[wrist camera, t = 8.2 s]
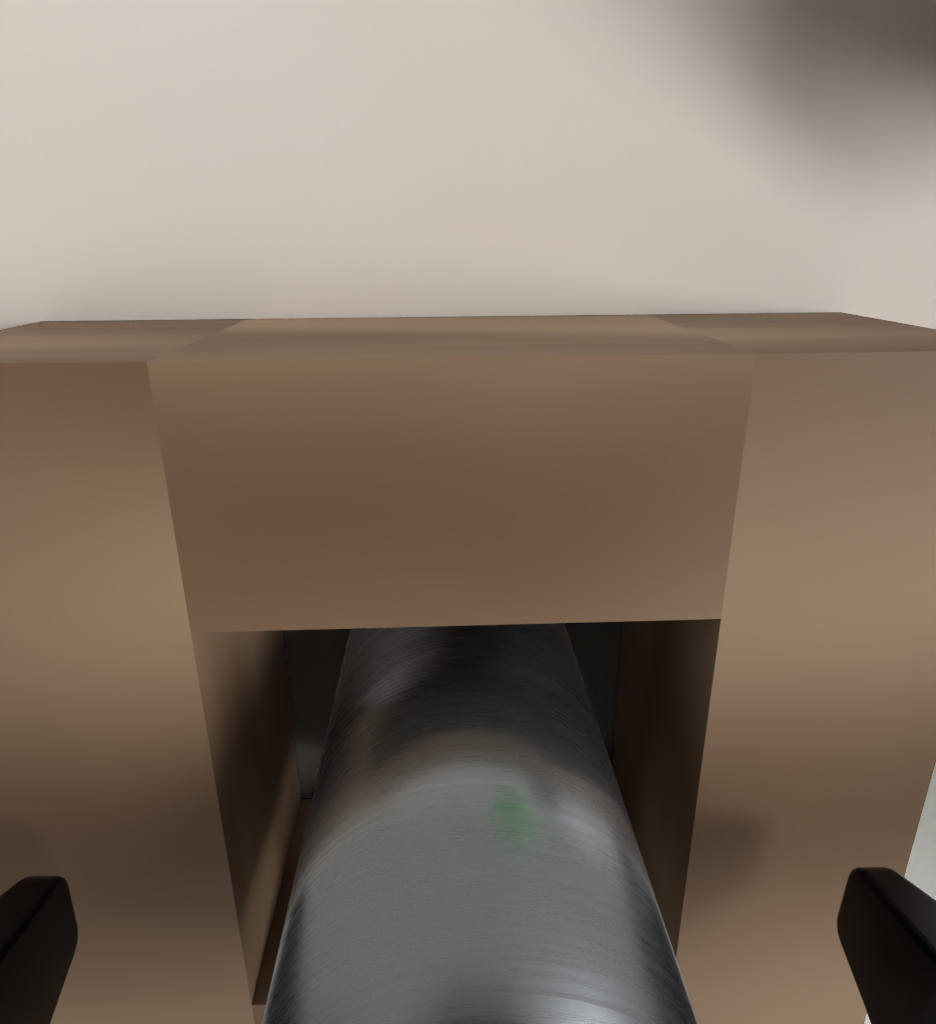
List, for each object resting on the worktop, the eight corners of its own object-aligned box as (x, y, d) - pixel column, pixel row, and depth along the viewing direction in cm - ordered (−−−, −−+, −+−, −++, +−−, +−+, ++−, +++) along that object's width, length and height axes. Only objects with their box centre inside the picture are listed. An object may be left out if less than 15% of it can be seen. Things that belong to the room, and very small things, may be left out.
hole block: (741, 897, 15) (840, 1109, 12) (167, 920, 15) (77, 1148, 11) (841, 312, 11) (1047, 350, 7) (42, 321, 11) (-173, 366, 7)
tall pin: (602, 698, 13) (811, 1279, 6) (409, 778, 14) (377, 1407, 6) (514, 518, 12) (641, 975, 5) (304, 613, 13) (109, 1167, 5)
